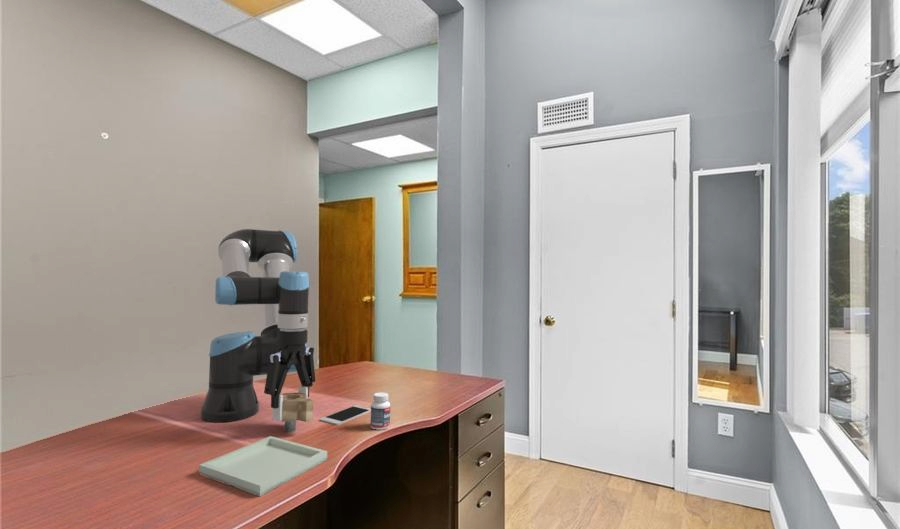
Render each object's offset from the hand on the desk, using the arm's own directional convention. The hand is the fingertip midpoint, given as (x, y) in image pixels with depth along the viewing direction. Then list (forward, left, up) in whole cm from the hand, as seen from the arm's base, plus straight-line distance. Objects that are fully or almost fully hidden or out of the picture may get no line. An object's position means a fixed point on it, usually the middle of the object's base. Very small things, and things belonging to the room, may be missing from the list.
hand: (290, 414), depth 115 cm
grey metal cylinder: (0, 0, -4) cm, 4 cm away
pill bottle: (+19, +14, -4) cm, 24 cm away
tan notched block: (+1, 0, 0) cm, 1 cm away
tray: (+12, -18, -4) cm, 22 cm away
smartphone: (+5, +17, -5) cm, 18 cm away
